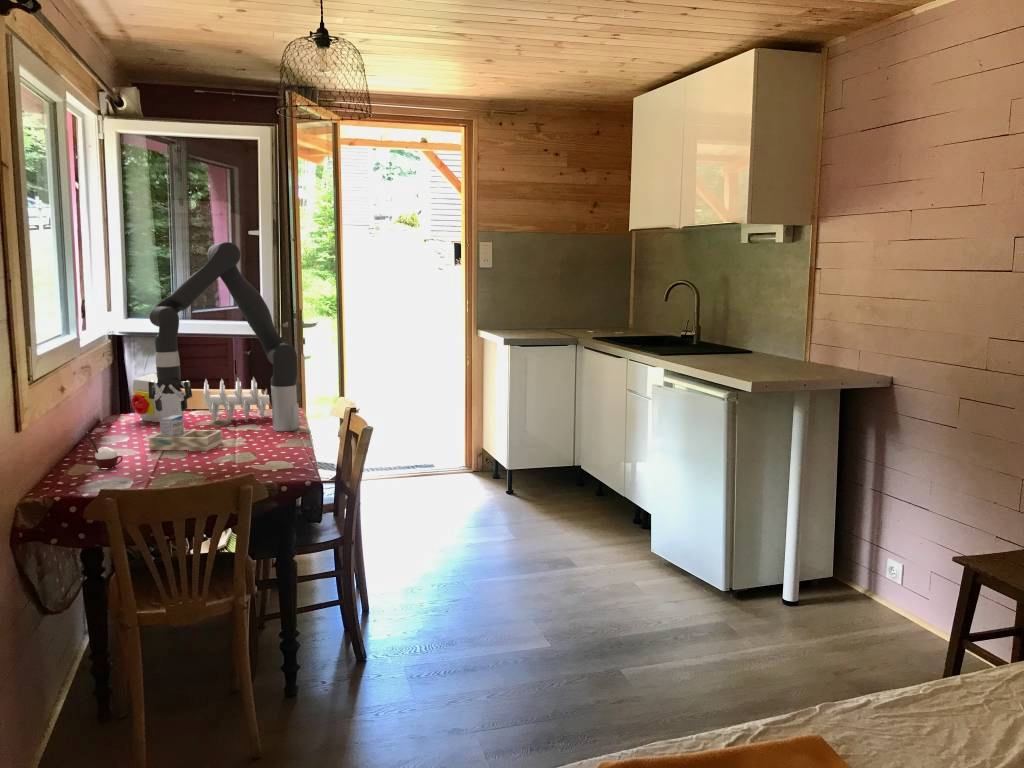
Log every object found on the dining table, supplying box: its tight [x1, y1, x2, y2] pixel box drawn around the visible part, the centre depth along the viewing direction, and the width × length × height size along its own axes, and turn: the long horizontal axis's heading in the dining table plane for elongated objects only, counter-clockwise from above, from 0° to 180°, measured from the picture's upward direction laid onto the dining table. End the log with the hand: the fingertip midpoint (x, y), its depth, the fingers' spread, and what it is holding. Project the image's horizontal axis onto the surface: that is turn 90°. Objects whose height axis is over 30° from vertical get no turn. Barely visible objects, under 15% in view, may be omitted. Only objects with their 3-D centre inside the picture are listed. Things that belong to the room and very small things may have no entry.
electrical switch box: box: [131, 372, 184, 423], centre depth 323 cm, size 15×15×20 cm
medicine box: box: [159, 415, 185, 437], centre depth 280 cm, size 8×4×9 cm, turn 173°
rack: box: [148, 429, 223, 452], centre depth 280 cm, size 20×13×4 cm, turn 87°
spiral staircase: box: [203, 376, 270, 424], centre depth 324 cm, size 18×18×25 cm
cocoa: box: [85, 431, 124, 469], centre depth 250 cm, size 10×6×12 cm, turn 104°
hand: (171, 410), depth 279 cm, fingers open, 8 cm apart
